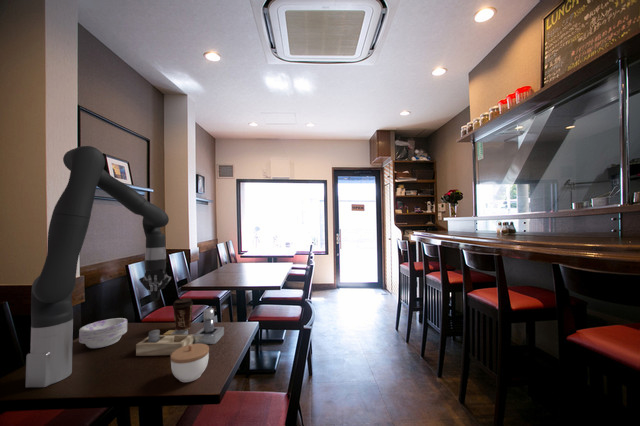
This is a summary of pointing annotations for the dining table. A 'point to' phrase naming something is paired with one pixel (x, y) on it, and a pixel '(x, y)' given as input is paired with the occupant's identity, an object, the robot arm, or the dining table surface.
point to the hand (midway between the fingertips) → (155, 299)
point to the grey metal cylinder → (209, 321)
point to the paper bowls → (103, 332)
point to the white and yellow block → (176, 332)
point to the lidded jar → (189, 362)
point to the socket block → (208, 336)
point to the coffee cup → (183, 313)
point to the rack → (162, 343)
